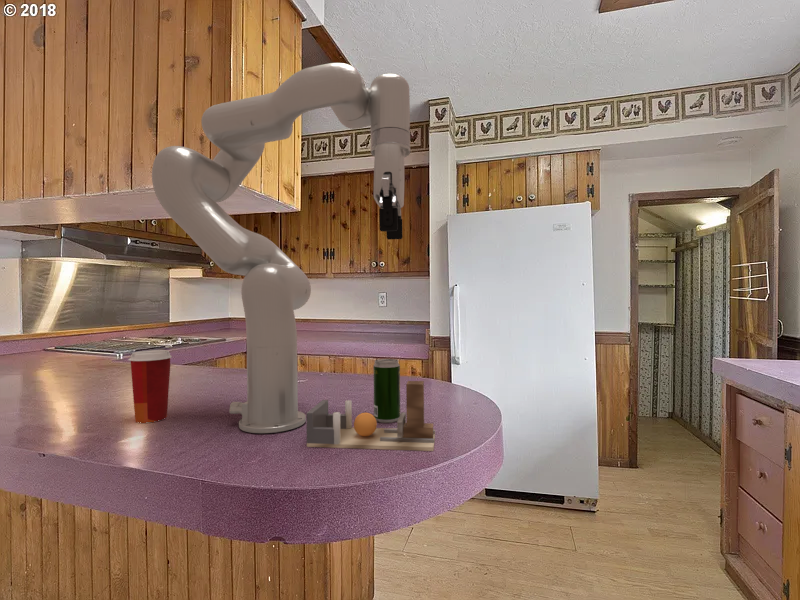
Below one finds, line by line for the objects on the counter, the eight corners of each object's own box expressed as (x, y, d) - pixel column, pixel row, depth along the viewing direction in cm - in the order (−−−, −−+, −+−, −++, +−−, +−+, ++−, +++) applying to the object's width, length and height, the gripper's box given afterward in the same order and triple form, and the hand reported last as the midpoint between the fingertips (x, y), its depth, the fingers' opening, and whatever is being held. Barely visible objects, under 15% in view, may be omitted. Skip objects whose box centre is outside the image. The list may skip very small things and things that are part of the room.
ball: (351, 439, 69) (351, 415, 69) (356, 431, 73) (356, 409, 73) (374, 440, 69) (374, 416, 69) (378, 432, 73) (378, 410, 73)
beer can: (382, 425, 79) (382, 363, 79) (369, 418, 83) (368, 360, 83) (405, 420, 82) (404, 360, 82) (391, 414, 86) (390, 357, 86)
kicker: (433, 430, 73) (433, 379, 73) (432, 442, 67) (431, 386, 67) (401, 429, 73) (401, 379, 73) (397, 441, 67) (396, 386, 67)
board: (306, 446, 68) (306, 440, 68) (323, 429, 76) (323, 423, 76) (433, 451, 65) (433, 444, 65) (435, 432, 74) (435, 426, 74)
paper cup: (176, 412, 89) (175, 349, 89) (168, 422, 82) (167, 353, 82) (134, 416, 87) (134, 350, 87) (123, 426, 80) (122, 355, 80)
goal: (306, 443, 67) (306, 413, 67) (323, 426, 77) (323, 399, 77) (339, 444, 67) (339, 414, 67) (352, 427, 76) (352, 400, 76)
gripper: (377, 161, 86) (378, 242, 86) (362, 127, 69) (364, 227, 69) (413, 160, 86) (414, 241, 86) (406, 124, 68) (408, 226, 68)
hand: (391, 235), depth 77 cm, fingers open, 9 cm apart
